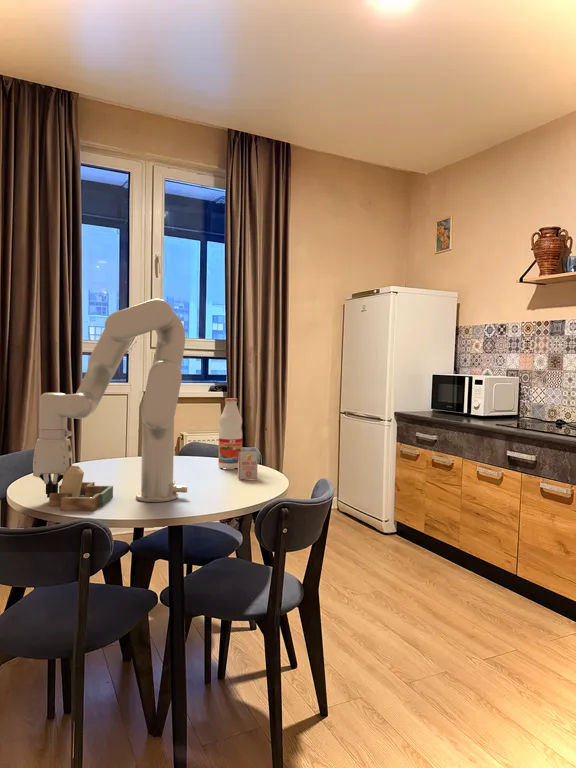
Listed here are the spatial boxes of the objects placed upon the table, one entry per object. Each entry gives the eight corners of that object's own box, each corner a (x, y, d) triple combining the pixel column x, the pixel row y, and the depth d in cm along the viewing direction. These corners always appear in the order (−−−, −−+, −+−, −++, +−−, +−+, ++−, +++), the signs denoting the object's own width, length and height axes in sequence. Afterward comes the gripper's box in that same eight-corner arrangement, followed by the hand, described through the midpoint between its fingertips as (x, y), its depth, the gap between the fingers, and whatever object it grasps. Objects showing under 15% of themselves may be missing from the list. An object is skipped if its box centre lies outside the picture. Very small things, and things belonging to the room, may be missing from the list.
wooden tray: (117, 493, 171) (117, 482, 171) (97, 510, 150) (97, 498, 150) (65, 493, 170) (65, 481, 170) (38, 510, 150) (38, 498, 149)
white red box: (237, 478, 199) (238, 451, 198) (256, 477, 200) (256, 450, 200) (238, 480, 195) (239, 452, 195) (257, 480, 196) (257, 452, 196)
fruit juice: (240, 465, 224) (241, 397, 223) (242, 469, 215) (244, 399, 214) (217, 465, 223) (218, 397, 222) (218, 470, 213) (220, 399, 213)
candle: (76, 503, 158) (82, 470, 158) (56, 500, 157) (63, 467, 157) (80, 498, 163) (86, 466, 163) (61, 495, 162) (67, 463, 162)
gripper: (83, 433, 164) (81, 494, 164) (32, 432, 163) (31, 493, 163) (74, 437, 156) (73, 500, 157) (21, 435, 155) (20, 499, 156)
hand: (51, 496), depth 160 cm, fingers closed
